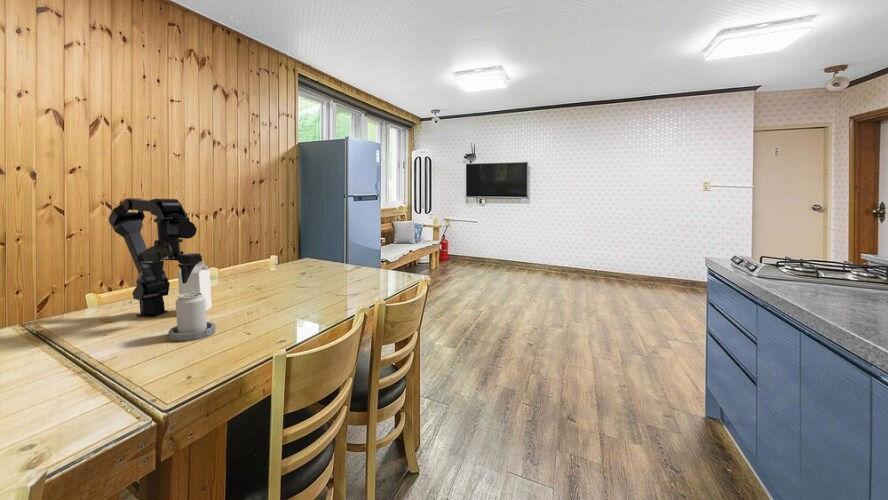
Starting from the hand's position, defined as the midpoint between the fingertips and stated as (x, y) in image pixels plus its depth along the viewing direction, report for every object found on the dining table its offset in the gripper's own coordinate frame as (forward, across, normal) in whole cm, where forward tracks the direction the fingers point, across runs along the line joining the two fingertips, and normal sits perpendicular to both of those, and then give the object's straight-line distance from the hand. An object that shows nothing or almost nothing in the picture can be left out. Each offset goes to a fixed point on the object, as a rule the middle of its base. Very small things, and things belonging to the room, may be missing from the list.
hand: (171, 282), depth 124 cm
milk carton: (+13, 0, +10) cm, 17 cm away
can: (+13, +16, -11) cm, 23 cm away
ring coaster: (+13, +16, -11) cm, 23 cm away
